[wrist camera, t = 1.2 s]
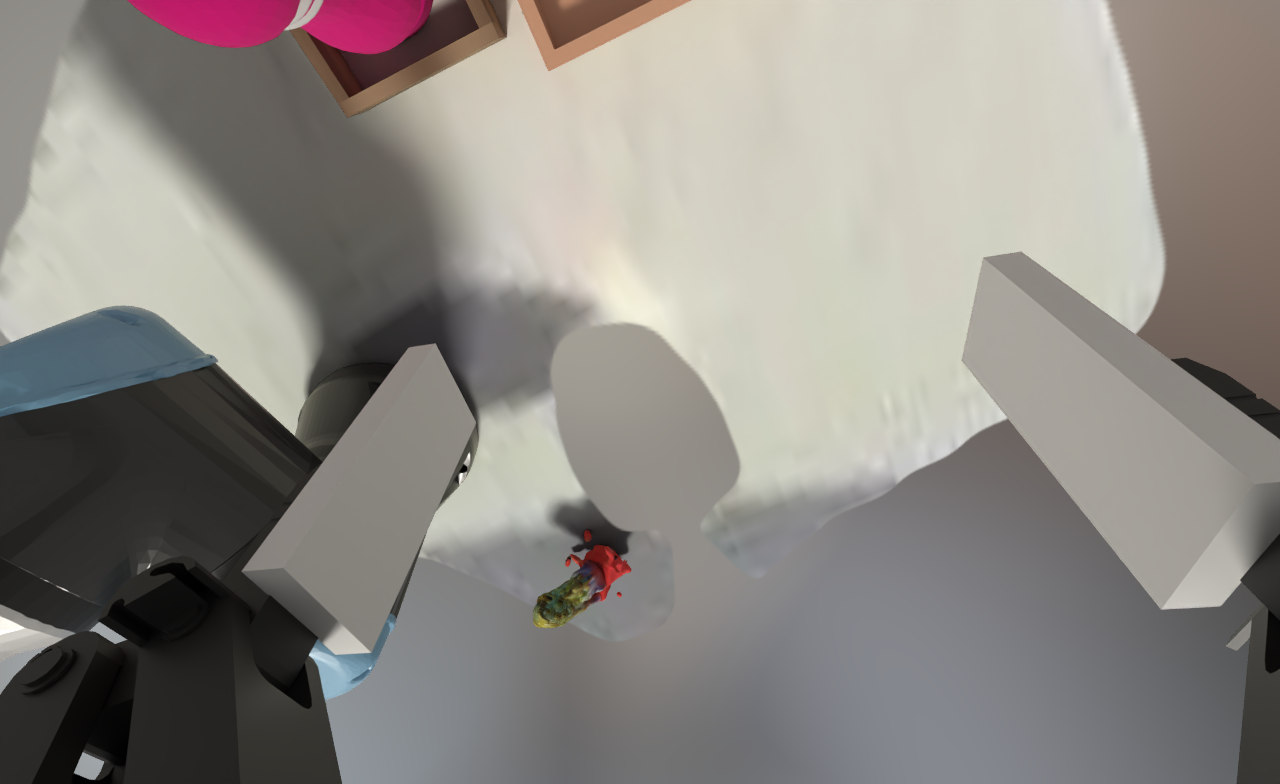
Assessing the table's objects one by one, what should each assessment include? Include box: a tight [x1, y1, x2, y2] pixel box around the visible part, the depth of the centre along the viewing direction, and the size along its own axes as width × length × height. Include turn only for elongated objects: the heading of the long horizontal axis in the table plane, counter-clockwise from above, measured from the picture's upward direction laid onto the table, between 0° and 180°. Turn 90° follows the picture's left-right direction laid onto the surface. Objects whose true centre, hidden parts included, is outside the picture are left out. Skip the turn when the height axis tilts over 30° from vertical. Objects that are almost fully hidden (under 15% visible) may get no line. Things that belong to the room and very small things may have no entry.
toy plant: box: [533, 530, 631, 628], centre depth 56 cm, size 8×10×12 cm
